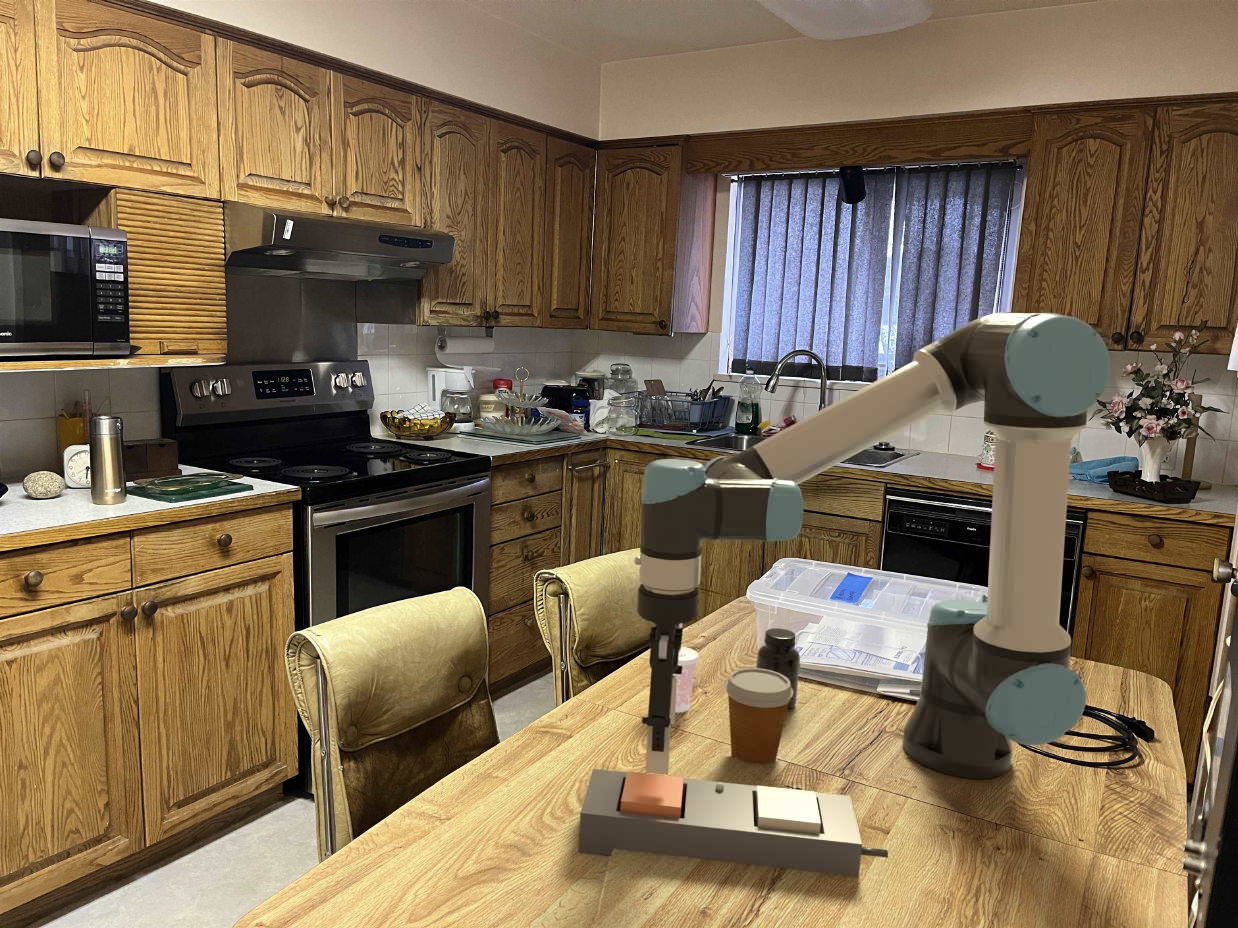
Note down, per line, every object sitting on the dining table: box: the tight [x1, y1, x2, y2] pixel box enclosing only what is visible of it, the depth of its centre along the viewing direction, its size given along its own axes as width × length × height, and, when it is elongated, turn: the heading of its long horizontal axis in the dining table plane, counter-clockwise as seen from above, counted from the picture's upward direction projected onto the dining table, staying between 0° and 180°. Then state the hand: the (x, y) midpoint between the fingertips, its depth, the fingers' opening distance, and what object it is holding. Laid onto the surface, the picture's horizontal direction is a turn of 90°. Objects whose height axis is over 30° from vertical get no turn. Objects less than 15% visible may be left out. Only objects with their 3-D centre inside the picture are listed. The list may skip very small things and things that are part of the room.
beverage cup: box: [673, 623, 699, 713], centre depth 146 cm, size 6×6×14 cm
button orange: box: [620, 771, 685, 818], centre depth 111 cm, size 7×7×5 cm
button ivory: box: [754, 785, 821, 834], centre depth 109 cm, size 7×7×5 cm
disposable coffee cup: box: [725, 667, 793, 765], centre depth 131 cm, size 10×10×12 cm
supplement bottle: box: [755, 627, 801, 711], centre depth 150 cm, size 7×7×12 cm
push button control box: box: [578, 768, 889, 878], centre depth 110 cm, size 36×10×6 cm, turn 83°
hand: (661, 745), depth 117 cm, fingers open, 13 cm apart
